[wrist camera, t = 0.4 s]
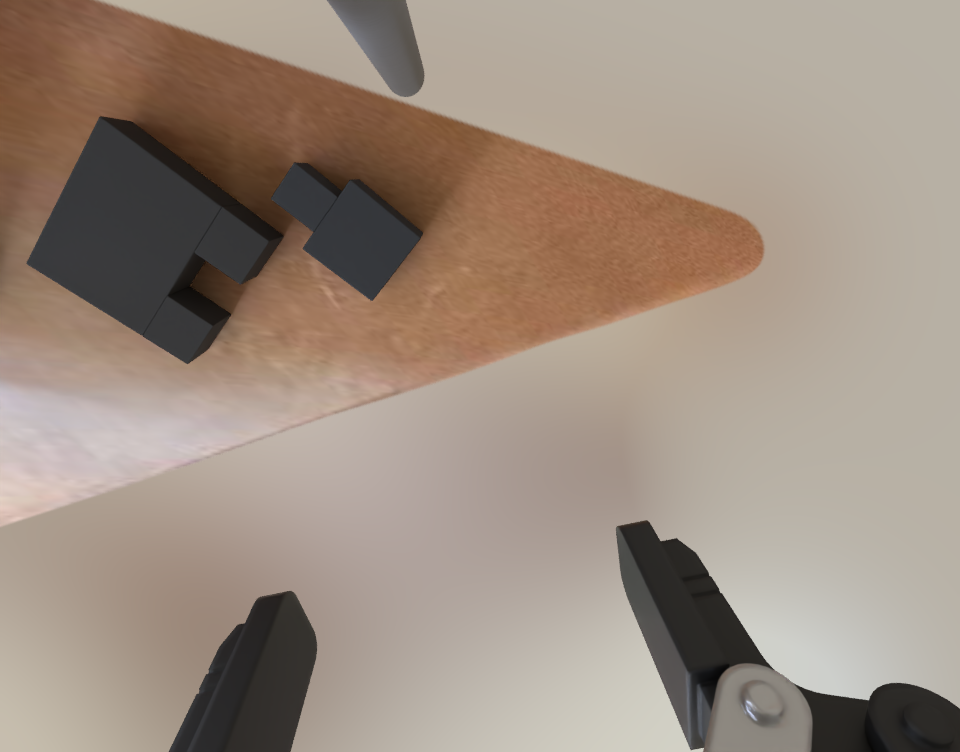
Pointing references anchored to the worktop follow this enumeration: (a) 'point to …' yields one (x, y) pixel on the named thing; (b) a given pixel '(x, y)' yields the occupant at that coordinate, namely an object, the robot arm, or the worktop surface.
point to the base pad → (148, 238)
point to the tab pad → (348, 227)
